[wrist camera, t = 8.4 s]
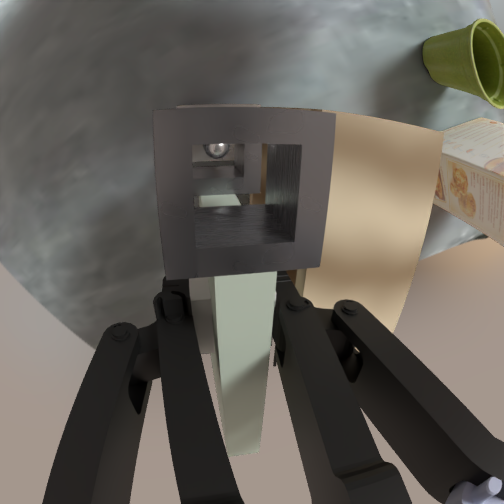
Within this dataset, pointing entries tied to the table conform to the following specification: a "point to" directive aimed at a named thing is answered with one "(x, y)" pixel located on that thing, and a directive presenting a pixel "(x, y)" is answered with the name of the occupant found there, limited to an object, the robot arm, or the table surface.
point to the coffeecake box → (474, 175)
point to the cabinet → (364, 210)
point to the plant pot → (469, 60)
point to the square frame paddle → (242, 233)
